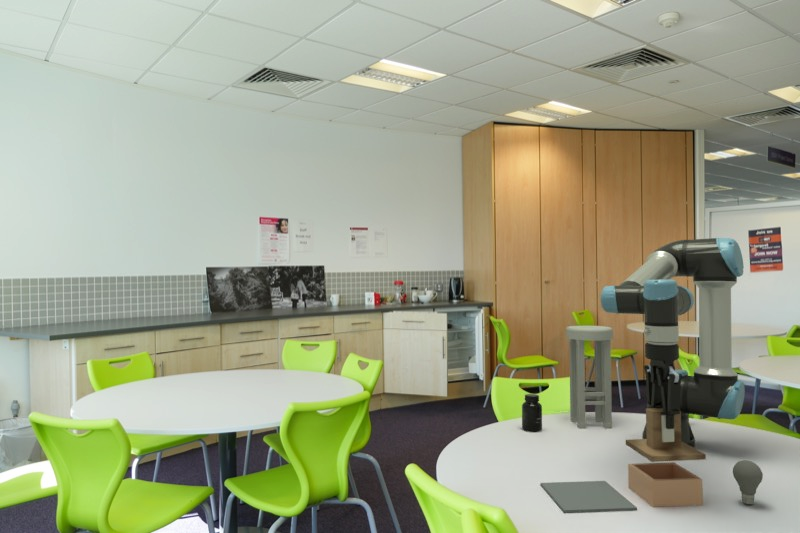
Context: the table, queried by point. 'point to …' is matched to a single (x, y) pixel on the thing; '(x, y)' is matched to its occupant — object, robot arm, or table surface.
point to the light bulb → (747, 479)
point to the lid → (663, 450)
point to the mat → (587, 497)
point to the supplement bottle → (532, 413)
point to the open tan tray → (665, 484)
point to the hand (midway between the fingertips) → (663, 438)
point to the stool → (602, 374)
